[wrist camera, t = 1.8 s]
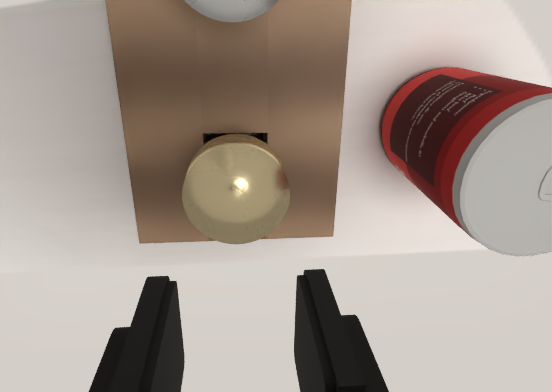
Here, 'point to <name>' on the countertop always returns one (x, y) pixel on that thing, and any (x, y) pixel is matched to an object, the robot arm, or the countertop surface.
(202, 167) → the brass button
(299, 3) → the button block
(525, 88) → the canned food
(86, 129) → the countertop surface
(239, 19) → the steel button
